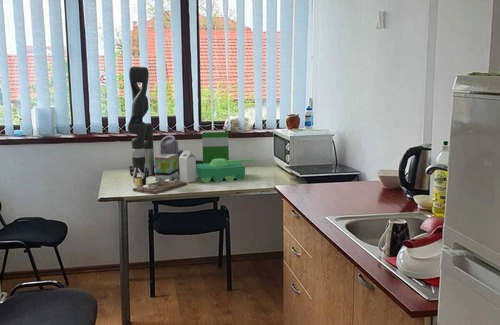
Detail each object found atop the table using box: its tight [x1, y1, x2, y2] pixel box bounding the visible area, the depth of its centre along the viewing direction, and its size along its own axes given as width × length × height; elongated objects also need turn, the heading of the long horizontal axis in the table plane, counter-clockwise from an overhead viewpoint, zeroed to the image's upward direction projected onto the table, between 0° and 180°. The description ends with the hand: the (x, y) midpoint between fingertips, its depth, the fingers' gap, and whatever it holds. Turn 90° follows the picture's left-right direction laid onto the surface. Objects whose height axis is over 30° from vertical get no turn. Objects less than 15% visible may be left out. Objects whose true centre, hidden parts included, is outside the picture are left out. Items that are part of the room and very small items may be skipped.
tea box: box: [154, 154, 179, 182], centre depth 331 cm, size 15×10×15 cm
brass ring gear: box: [133, 176, 143, 187], centre depth 314 cm, size 6×6×4 cm
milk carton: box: [179, 149, 197, 184], centre depth 321 cm, size 7×7×19 cm
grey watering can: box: [158, 134, 184, 175], centre depth 353 cm, size 30×16×24 cm, turn 161°
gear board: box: [132, 177, 188, 195], centre depth 306 cm, size 16×28×6 cm, turn 148°
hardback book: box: [201, 131, 230, 164], centre depth 367 cm, size 18×7×24 cm, turn 92°
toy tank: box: [196, 158, 255, 183], centre depth 330 cm, size 18×12×35 cm
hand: (139, 183), depth 314 cm, fingers closed on brass ring gear, 6 cm apart
